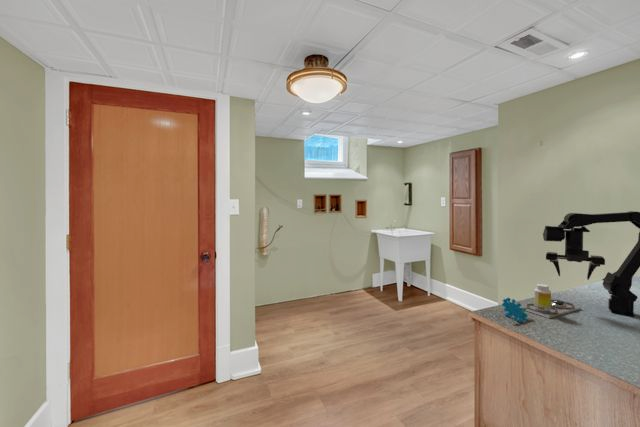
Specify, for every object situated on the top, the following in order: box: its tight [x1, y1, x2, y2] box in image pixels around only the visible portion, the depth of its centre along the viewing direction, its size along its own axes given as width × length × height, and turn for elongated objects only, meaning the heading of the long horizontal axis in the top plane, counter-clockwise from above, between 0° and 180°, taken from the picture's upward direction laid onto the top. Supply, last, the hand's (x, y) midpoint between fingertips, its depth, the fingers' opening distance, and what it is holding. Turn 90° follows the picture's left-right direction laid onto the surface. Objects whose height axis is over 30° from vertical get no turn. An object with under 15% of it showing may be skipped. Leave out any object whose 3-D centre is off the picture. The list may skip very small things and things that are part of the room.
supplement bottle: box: [533, 283, 552, 311], centre depth 118 cm, size 6×6×10 cm
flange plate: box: [520, 298, 581, 319], centre depth 121 cm, size 22×12×2 cm, turn 113°
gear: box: [501, 297, 528, 323], centre depth 113 cm, size 11×6×10 cm
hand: (573, 277), depth 122 cm, fingers open, 9 cm apart
